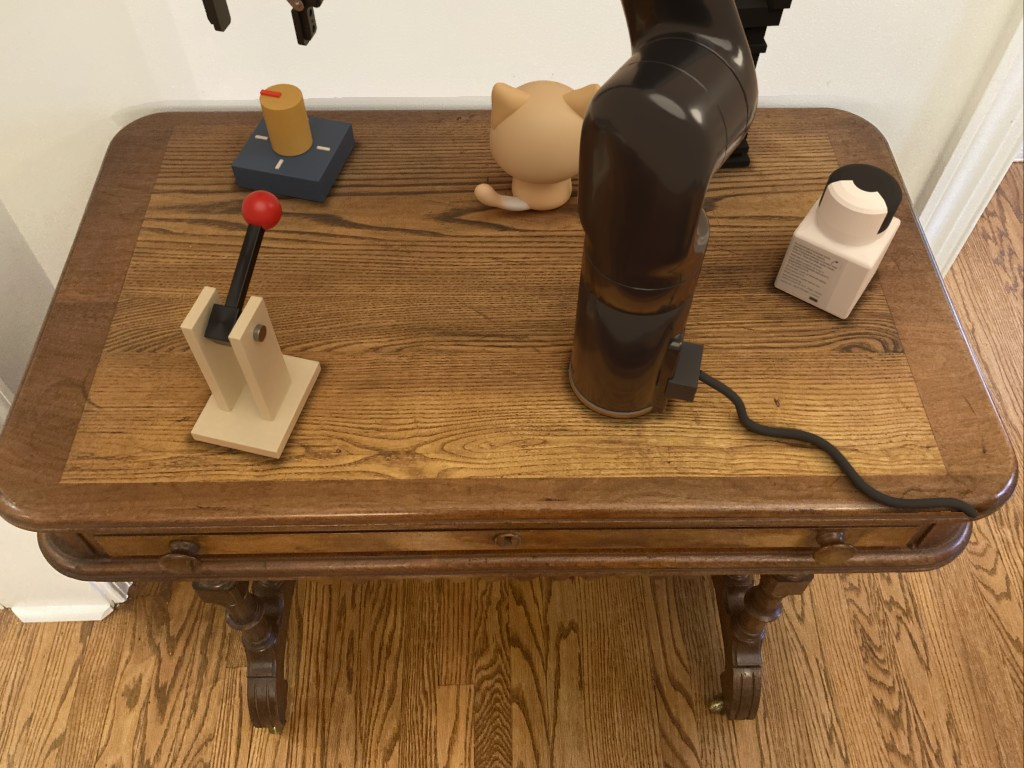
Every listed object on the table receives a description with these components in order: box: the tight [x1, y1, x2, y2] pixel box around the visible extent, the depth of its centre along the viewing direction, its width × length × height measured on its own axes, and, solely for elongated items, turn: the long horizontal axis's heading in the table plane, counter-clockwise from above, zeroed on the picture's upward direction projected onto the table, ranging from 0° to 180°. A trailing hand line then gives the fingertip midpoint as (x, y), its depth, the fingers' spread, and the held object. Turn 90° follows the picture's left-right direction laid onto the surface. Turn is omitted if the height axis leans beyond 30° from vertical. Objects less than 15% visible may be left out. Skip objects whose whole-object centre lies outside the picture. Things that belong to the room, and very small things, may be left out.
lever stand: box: [179, 285, 322, 460], centre depth 72 cm, size 10×8×13 cm
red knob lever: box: [204, 190, 283, 347], centre depth 69 cm, size 13×3×3 cm, turn 166°
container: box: [774, 163, 903, 320], centre depth 81 cm, size 8×8×13 cm
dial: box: [259, 83, 313, 156], centre depth 91 cm, size 4×4×6 cm
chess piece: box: [720, 0, 793, 169], centre depth 90 cm, size 8×8×20 cm
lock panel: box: [230, 115, 356, 203], centre depth 95 cm, size 10×10×3 cm
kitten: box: [474, 79, 601, 212], centre depth 87 cm, size 15×10×15 cm, turn 89°
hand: (264, 34), depth 83 cm, fingers open, 8 cm apart
